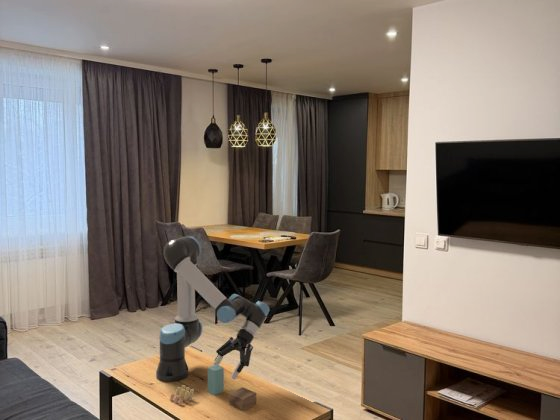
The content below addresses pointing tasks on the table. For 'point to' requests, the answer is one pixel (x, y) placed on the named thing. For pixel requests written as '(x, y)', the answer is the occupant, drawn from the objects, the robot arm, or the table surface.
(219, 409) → the table surface
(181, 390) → the ammunition
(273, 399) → the table surface
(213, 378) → the teal block
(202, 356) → the table surface
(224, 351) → the robot arm
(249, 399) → the walnut base
